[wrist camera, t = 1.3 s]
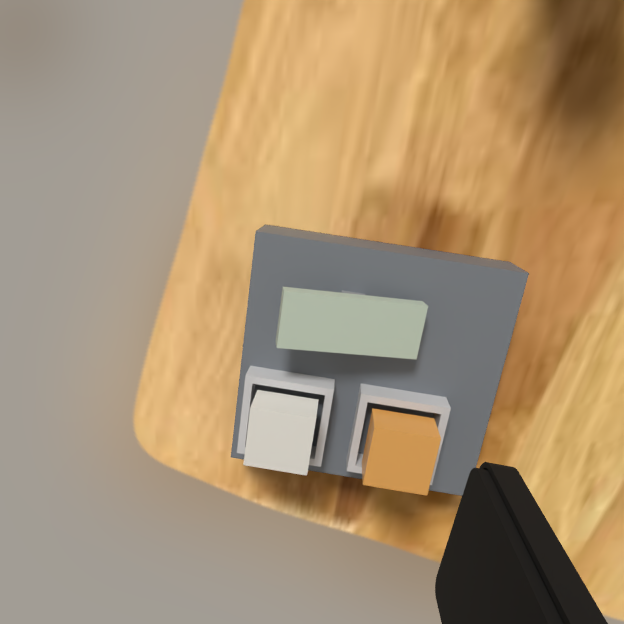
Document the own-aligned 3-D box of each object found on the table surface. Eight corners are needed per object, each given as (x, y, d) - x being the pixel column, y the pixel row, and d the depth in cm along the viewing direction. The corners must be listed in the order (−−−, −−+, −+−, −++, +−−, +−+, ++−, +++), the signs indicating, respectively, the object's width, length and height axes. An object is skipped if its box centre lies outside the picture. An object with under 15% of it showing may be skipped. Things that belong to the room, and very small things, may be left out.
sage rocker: (422, 301, 25) (428, 305, 24) (411, 353, 26) (416, 359, 25) (282, 286, 24) (284, 291, 23) (275, 341, 24) (276, 347, 24)
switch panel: (509, 261, 27) (538, 278, 23) (456, 466, 31) (473, 511, 27) (265, 224, 28) (250, 234, 24) (241, 430, 32) (225, 470, 27)
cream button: (318, 399, 26) (316, 418, 24) (309, 453, 27) (306, 475, 25) (257, 389, 26) (250, 407, 24) (250, 443, 27) (243, 465, 25)
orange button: (434, 418, 26) (441, 438, 24) (421, 471, 27) (426, 495, 25) (372, 408, 26) (374, 427, 24) (361, 461, 27) (362, 484, 25)
